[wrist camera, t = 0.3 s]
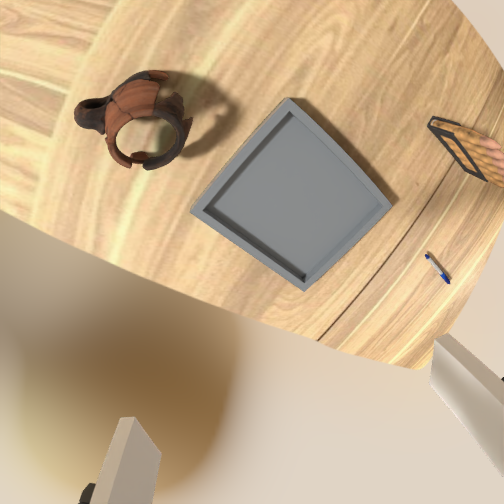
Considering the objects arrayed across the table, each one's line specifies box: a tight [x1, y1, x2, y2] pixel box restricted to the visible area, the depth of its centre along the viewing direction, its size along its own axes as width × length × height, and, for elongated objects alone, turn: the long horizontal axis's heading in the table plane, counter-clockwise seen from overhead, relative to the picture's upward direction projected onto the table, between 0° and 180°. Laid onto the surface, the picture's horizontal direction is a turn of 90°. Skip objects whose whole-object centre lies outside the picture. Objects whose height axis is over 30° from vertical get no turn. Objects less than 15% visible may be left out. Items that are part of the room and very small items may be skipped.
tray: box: [190, 98, 393, 292], centre depth 33 cm, size 16×18×2 cm
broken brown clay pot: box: [74, 70, 193, 170], centre depth 25 cm, size 12×10×8 cm
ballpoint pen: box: [425, 254, 450, 284], centre depth 41 cm, size 10×1×1 cm, turn 55°
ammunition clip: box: [427, 116, 504, 188], centre depth 26 cm, size 11×2×12 cm, turn 60°
